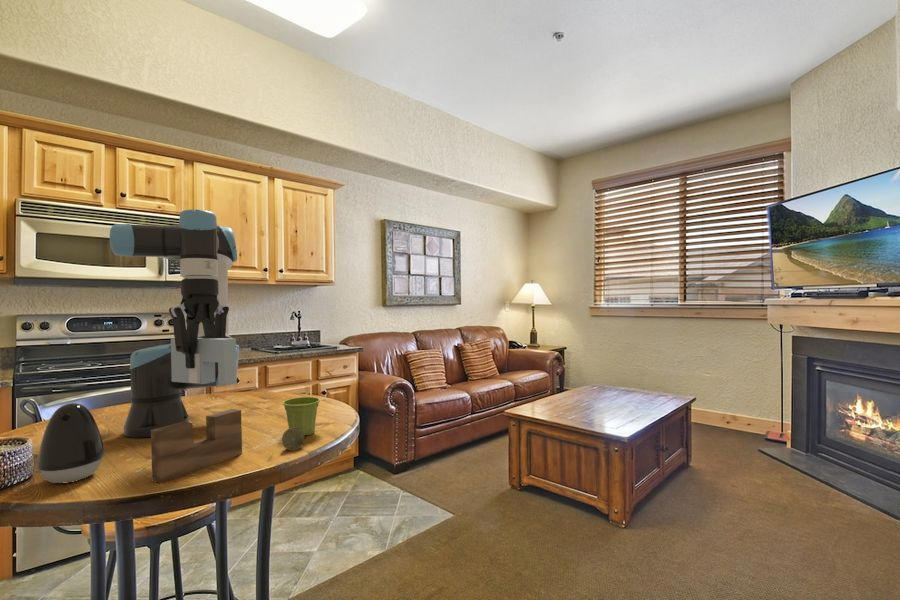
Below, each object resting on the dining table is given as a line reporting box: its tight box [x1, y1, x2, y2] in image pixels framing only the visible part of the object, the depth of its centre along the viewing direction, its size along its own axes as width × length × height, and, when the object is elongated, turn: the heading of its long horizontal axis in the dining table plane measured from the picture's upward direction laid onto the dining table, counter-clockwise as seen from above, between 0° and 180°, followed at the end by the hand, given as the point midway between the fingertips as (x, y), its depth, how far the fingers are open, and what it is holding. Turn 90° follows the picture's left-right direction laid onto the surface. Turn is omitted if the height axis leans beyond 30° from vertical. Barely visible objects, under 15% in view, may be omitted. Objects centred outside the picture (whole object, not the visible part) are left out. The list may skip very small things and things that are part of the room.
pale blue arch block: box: [170, 337, 238, 387], centre depth 102 cm, size 18×3×10 cm, turn 65°
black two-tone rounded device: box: [36, 402, 105, 484], centre depth 89 cm, size 10×10×15 cm
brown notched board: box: [150, 408, 243, 484], centre depth 95 cm, size 3×18×10 cm, turn 153°
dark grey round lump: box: [281, 427, 306, 452], centre depth 104 cm, size 4×5×5 cm
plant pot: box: [282, 396, 321, 436], centre depth 116 cm, size 9×9×9 cm
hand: (202, 381), depth 102 cm, fingers closed on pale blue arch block, 3 cm apart
